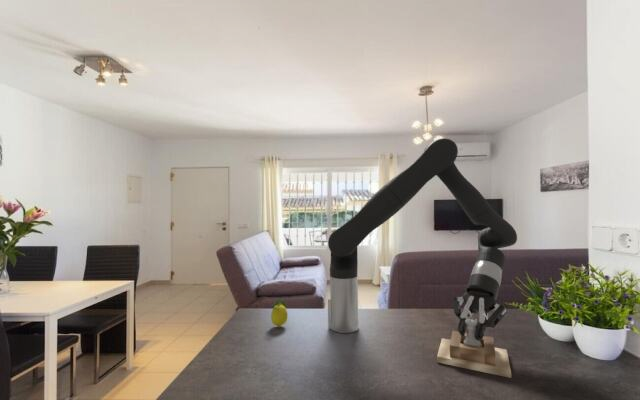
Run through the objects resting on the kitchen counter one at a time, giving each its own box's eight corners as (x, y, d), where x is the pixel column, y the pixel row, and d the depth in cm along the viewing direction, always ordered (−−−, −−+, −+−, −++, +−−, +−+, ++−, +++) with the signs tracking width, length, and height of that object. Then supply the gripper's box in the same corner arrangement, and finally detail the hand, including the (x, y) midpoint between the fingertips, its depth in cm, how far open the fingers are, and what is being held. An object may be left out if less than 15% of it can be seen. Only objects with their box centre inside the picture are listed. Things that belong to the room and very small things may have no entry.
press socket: (437, 362, 76) (436, 344, 76) (442, 343, 86) (441, 327, 87) (511, 378, 68) (510, 358, 68) (506, 355, 79) (506, 338, 79)
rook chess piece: (485, 354, 75) (483, 322, 75) (466, 352, 76) (464, 321, 76) (479, 346, 79) (478, 315, 80) (461, 345, 80) (460, 315, 80)
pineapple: (272, 332, 96) (272, 301, 96) (266, 326, 101) (266, 296, 101) (291, 328, 99) (291, 298, 100) (285, 322, 104) (284, 293, 105)
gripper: (455, 269, 88) (437, 321, 80) (509, 276, 78) (495, 337, 69) (463, 284, 92) (447, 335, 83) (516, 292, 81) (503, 353, 73)
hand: (469, 336), depth 76 cm, fingers closed on rook chess piece, 3 cm apart
